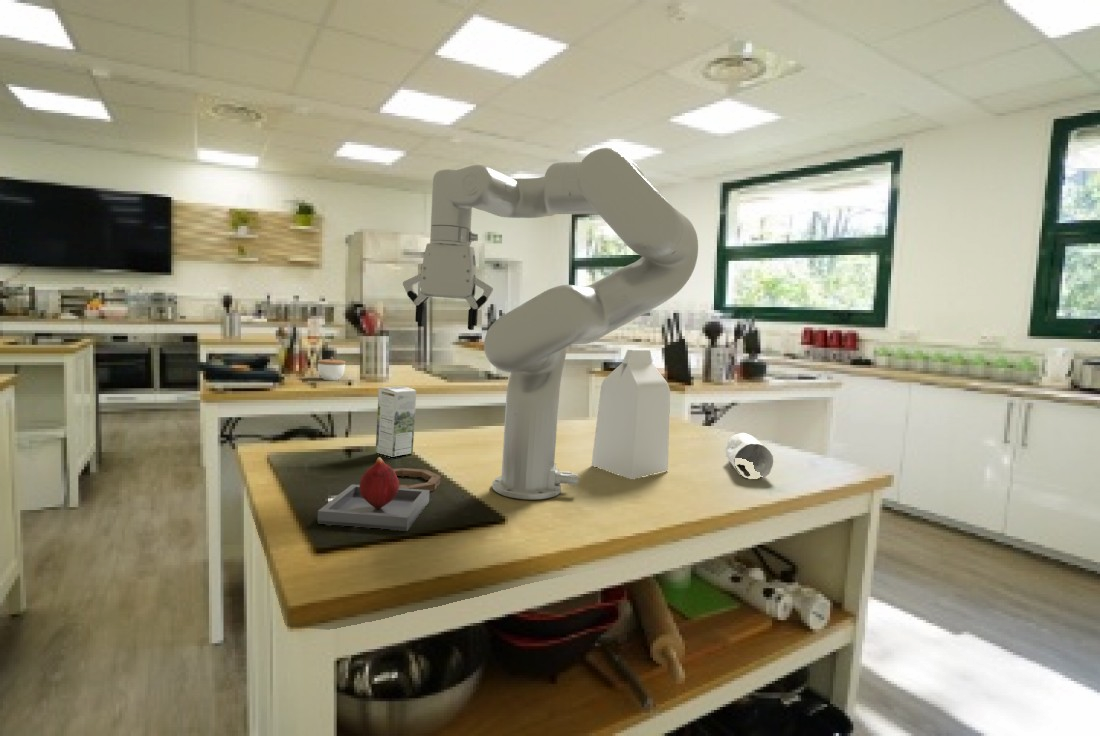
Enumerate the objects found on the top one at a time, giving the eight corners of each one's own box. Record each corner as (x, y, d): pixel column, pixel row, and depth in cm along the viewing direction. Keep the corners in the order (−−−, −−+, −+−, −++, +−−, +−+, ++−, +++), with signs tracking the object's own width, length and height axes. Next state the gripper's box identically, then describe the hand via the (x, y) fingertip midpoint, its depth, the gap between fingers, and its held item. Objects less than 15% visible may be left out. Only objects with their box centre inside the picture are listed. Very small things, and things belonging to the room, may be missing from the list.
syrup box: (396, 449, 127) (398, 385, 126) (414, 454, 124) (416, 388, 123) (374, 453, 123) (377, 387, 121) (392, 459, 119) (395, 390, 118)
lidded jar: (312, 378, 234) (312, 355, 233) (336, 377, 242) (337, 355, 241) (325, 381, 227) (326, 358, 226) (350, 380, 235) (350, 357, 234)
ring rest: (444, 477, 109) (445, 471, 109) (429, 496, 97) (430, 490, 97) (382, 472, 109) (382, 466, 109) (360, 491, 97) (360, 484, 97)
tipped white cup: (752, 461, 139) (755, 429, 139) (771, 482, 121) (775, 445, 120) (719, 457, 140) (722, 426, 140) (732, 478, 122) (736, 441, 121)
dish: (429, 501, 95) (429, 490, 94) (407, 531, 82) (407, 517, 81) (351, 496, 95) (351, 484, 95) (317, 524, 82) (317, 511, 82)
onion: (405, 507, 90) (407, 457, 89) (380, 517, 85) (382, 465, 84) (376, 500, 92) (378, 451, 91) (350, 510, 87) (352, 458, 86)
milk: (631, 479, 116) (641, 352, 113) (591, 466, 124) (600, 347, 122) (667, 472, 124) (678, 352, 121) (627, 459, 132) (636, 347, 130)
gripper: (497, 243, 112) (493, 330, 114) (410, 238, 113) (407, 324, 114) (492, 238, 105) (487, 331, 107) (399, 232, 105) (396, 325, 107)
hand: (446, 328), depth 110 cm, fingers open, 9 cm apart
